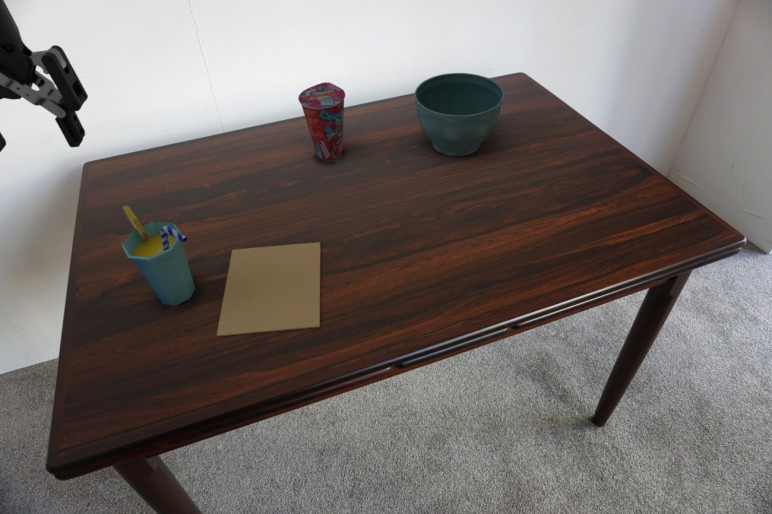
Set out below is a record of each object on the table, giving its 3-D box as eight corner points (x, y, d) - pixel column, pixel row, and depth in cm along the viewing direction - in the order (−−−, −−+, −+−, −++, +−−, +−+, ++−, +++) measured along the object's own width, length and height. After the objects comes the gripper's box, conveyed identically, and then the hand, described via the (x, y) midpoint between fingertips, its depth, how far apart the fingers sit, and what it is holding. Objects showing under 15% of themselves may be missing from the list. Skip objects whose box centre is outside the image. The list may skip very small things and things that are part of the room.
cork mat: (217, 336, 71) (216, 335, 71) (232, 250, 83) (232, 249, 83) (319, 327, 71) (319, 326, 71) (320, 243, 84) (320, 242, 83)
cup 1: (234, 294, 76) (205, 216, 66) (195, 331, 72) (157, 253, 61) (168, 261, 82) (132, 184, 71) (128, 294, 77) (83, 216, 67)
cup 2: (357, 158, 100) (351, 100, 92) (315, 169, 98) (305, 111, 90) (341, 134, 107) (335, 78, 98) (301, 144, 105) (291, 88, 96)
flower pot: (448, 178, 95) (451, 125, 87) (398, 139, 105) (397, 88, 97) (514, 148, 101) (523, 96, 93) (461, 114, 110) (465, 65, 103)
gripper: (-162, 11, 44) (-43, 170, 55) (9, 0, 44) (93, 160, 56) (-109, -18, 49) (-11, 133, 61) (44, -28, 50) (113, 124, 61)
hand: (39, 146), depth 58 cm, fingers open, 8 cm apart
